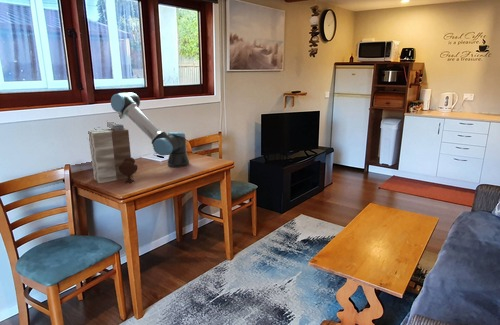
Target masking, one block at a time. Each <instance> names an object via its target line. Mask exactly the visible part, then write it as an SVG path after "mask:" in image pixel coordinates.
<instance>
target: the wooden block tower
mask: <svg viewBox="0 0 500 325" xmlns="http://www.w3.org/2000/svg"><path fill="white" fill-rule="evenodd" d="M129 132H130V131H129V129H127V128H125V127H124V130H121V131H114V130H113V129H101V130H91V131H88V134H89V140H88V141H89V149H90V156H91V157H90V158H91V166H92V172H93V179H94V180H95V181H96V182H97V183H98V184H105V183H110V182H114V181H119V180H125V179H126V180H127V179H128V177H127V175H124V174H122V173H121V172H120V171H119V166H121V164H122V163H123V162H124V160H125V159H126V158H127V157H132V154H131V153H132V151H131V144H130V143H131V142H130V134H129ZM133 175H134V174H132V175H131V176H130V177H131V178H133V177H134V176H133Z"/></svg>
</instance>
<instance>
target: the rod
mask: <svg viewBox="0 0 500 325" xmlns="http://www.w3.org/2000/svg"><path fill="white" fill-rule="evenodd" d="M106 122H107V121H106ZM107 127H109V128H111V129H113V130H114V131H121V130H124V128H125V127H124V124H121V123H120V124H116V123H114V122H107Z"/></svg>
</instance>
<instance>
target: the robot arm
mask: <svg viewBox="0 0 500 325" xmlns="http://www.w3.org/2000/svg"><path fill="white" fill-rule="evenodd" d="M110 105H111V108H112V110H114V111H115V112H118V114H119V117H120V119H124V120H125V119H126V118H127V117H128V118H129V119H130V120H131V121H132V122H133V123H134V124H135V125H136V126H137V127H138V128H139V129H140V130H141V131H142V132H143V133H144V134H145V135H146V136H147V137H148V138H149V139H150V140H151V141H150V142H151V145H152V148H153V151H154V153H156V154H158V155H159V156H161V157H163V156H168V158H167V166H168V167H170V168H171V167H173V168H182V167H187V166H189V165H190V160H189V156H188V155H187V144H186V143H187V142H186V138H187V137H186V134H185V133H184V132H176V131H175V132H174V131H173V132H172V131H171V132H168V133H167V132H166V131H163V130H160V128H158V127H157V126H156V125H155V124H154V123H153V122H152V120H150V118H148V117H147V116H146V115H145V114H144V112H142V111H141V109H139V107H140V105H141V100H140V97H139V95H137V93H134V92H118V93H115V94H113V95H112V96H111V98H110ZM94 129H95V128H94ZM95 130H97V129H95Z"/></svg>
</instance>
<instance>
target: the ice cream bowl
mask: <svg viewBox="0 0 500 325" xmlns="http://www.w3.org/2000/svg"><path fill="white" fill-rule="evenodd" d="M135 163H136V160H135V158H134V157H132V156H131V157H127V158H126V159H125V160H124V162H123V163H122V164H121V166H119V171H120V172H121V173H122V174H124V175H127V177H128V178H126V180H124V183H125V184H133V183H135V180H134V179H132V177H130V176H131V175H132V174H133V175H134V174H135V173H136V172H137V171H138V164H135ZM132 182H133V183H132Z"/></svg>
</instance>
